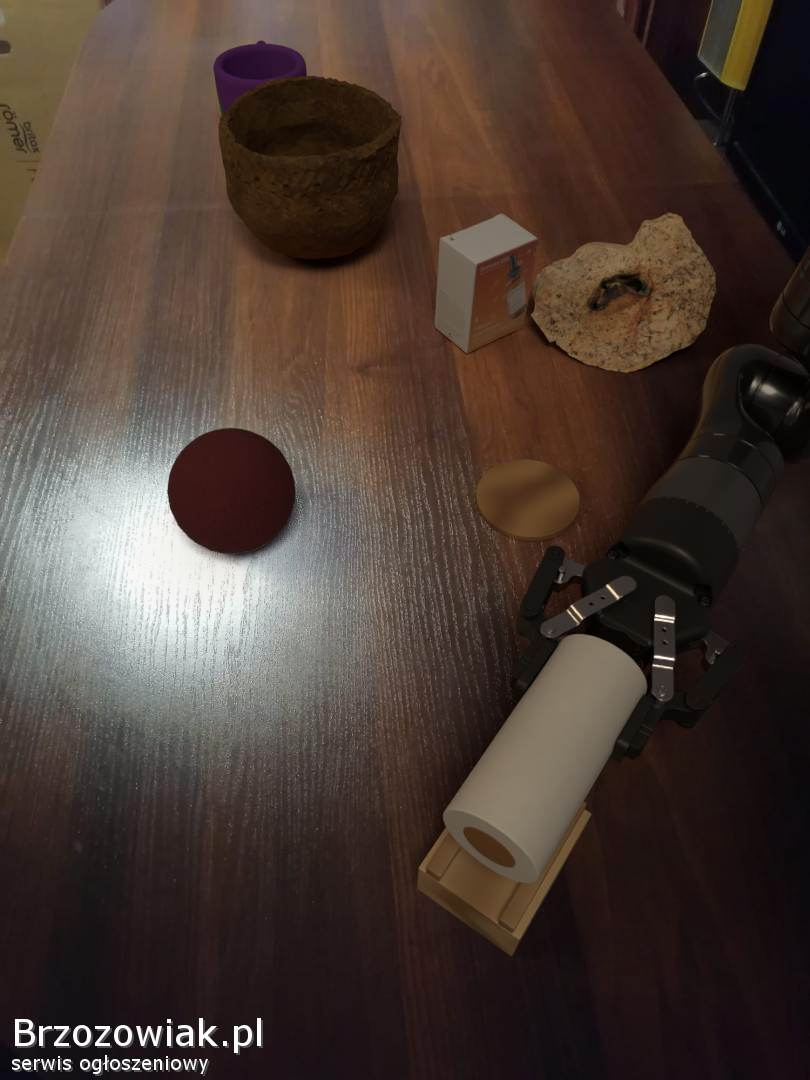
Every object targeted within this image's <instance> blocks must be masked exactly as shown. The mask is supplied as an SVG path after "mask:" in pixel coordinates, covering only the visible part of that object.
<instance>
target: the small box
mask: <svg viewBox="0 0 810 1080" xmlns="http://www.w3.org/2000/svg"><path fill="white" fill-rule="evenodd" d="M538 241H539V239H538V237H537V236H535V235H534V234H532V232H530V231H528V230H527V229H526V228H524V227H523V226H521V225H519V224H518V223H517V222H516V221H514V220H513V219H511V218H510V217H508V216H507V215H505V214H504V213H499V214H497V215H495V216H493V217H490V218H489V219H486V220H483V221H481V222H479V223H476V224H474V225H471V226H469V227H466V228H464V229H461V230H459V231H456V232H453V233H451V234H448V235H444V236H441V237H439V245H438V263H437V276H436V278H437V281H436V293H435V294H436V296H435V310H434V311H435V312H434V328H435V329H437V331H439V332H440V333H441V334H442V335H444V337H446V338H447V339H448V340H449V341H450V342H452V343H453V344H454V345H455V346H457V347H458V348H459V349H460V350H462V351H463V352H464V353H465V354H470V353H472V352H473V351H476V350H478V349H480V348H482V347H484V346H486V345H488V344H490V343H493V342H494V341H497V340H499V339H501V338H503V337H505V336H508V335H510V334H512V333H514V332H517V331H519V330H521V329H523V328H524V327H525V323H526V317H527V311H528V304H529V298H530V292H531V286H532V280H533V274H534V267H535V260H536V254H537V250H538V249H537V248H538V244H539V243H538Z"/></svg>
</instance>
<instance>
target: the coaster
mask: <svg viewBox="0 0 810 1080" xmlns="http://www.w3.org/2000/svg"><path fill="white" fill-rule="evenodd" d="M475 504H476V509H477V511H478V513H479V515H480V517H481V519H483V521H484V522H485V523H486V524H487V525H488V526H489V527H490V528H491V529H493V530H494V531H496V532H497V533H499V534H501V535H503V536H505V537H508V538H511V539H514V540H518V541H525V542H540V541H541V542H542V541H547V540H550V539H554V538H557V537H558V536H560V535H562V534H564V533H565V532H567V531H568V530H569V529H570V528H571V527H572V526H573V525H574V523H575V521H576V520H577V518H578V514H579V511H580V507H581V497H580V493H579V491H578V488H577V486H576V485H575V483H574V482H573V480H572V479H571V478H570V477H569V476H568V475H567V474H566V473H565V472H563V471H562V470H561V469H559V468H557V467H555V466H554V465H552V464H549V463H547V462H545V461H544V462H543V461H541V460H540V461H539V460H535V459H528V458H527V459H526V458H525V459H524V458H519V459H511V460H506V461H502V462H500V463H498V464H496V465H494V466H491V468H489V469H488V470H486V472H485V473H484V474H483V475H482V476H481V477H480V479H479V481H478V483H477V485H476V490H475Z"/></svg>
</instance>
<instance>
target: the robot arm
mask: <svg viewBox="0 0 810 1080" xmlns="http://www.w3.org/2000/svg"><path fill="white" fill-rule="evenodd" d="M768 324H769V330H770V333H771V336H772V337H773V339H774V341H775V342H776V343H777V345H778V346H779V347H780V348H781V349H782V350H783V351H784V352H785V353H786V354H787V355H788V356H789V357H790V358H789V357H787V356H785V355H783V354H780V353H779V352H777V351H775V350H773V349H772V348H770V347H767V346H765V345H763V344H759V343H756V342H744V343H738V344H735V345H734V346H731V347H729V348H728V349H726V350H724V351H723V352H722V353H720V354H719V355H718V357H717V358H715V360H713V363H712V364H711V365H710V367H709V369H708V370H707V373H706V375H705V377H704V379H703V382H702V385H701V389H700V392H699V396H698V401H697V406H696V412H695V419H694V423H693V427H692V431H691V433H690V435H689V438H688V439H687V440H686V442H685V444H684V445H683V447H682V448H681V450H680V452H679V453H678V454H677V456H676V457H675V458H674V460H673V461H672V463H671V464H670V466H669V468H668V469H667V470H666V471H665V472H664V473H663V474H662V475H661V476H660V477H659V478H658V479H657V480H656V481H655V482H654V484H652V485H651V487H650V488H649V489H648V491H647V492H646V494H645V495H644V497H643V498H642V500H641V501H640V502H639V504H638V505H637V507H635V509H634V511H633V512H632V514H631V515H630V516H629V518H628V520H627V521H626V522H625V524H624V525H623V527H622V528H621V530H620V531H619V533H618V534H617V535H616V537H615V539H614V540H613V541H612V542H611V544H610V545H609V547H608V548H607V550H606V551H605V552H604V553H603V555H602V556H601V557H600V558H598V559H596V560H594V561H592V562H589V563H588V564H586V565H584V564H582V563H579V562H576V561H574V560H572V559H568V558H566V557H565V556H566V551H565V549H564V548H563V547H561V546H559V545H550V546H549V547H547V549H546V550H545V552H544V555H543V557H542V559H541V561H540V563H539V566H538V567H537V570H536V572H535V574H534V575H533V578H532V580H531V582H530V584H529V586H528V588H527V590H526V592H525V594H524V597H523V599H522V601H521V602H520V606H519V609H518V614H517V620H516V624H515V632H516V633H517V634H518V635H519V636H521V637H523V638H526V639H527V641H529V645H528V646H527V647H526V649H525V650H524V651H523V652H522V654H521V655H520V657H519V659H518V660H517V661H516V663H515V664H514V665H513V667H512V671H511V676H510V680H509V686H508V687H509V688H510V689H512V693H511V700H512V701H514V702H515V703H517V704H518V703H519V701H520V700H521V698H522V697H523V696H524V694H525V693H526V691H527V690H528V688H529V687H530V685H531V684H532V682H533V681H534V679H535V678H536V677H537V675H538V674H539V672H540V671H541V669H542V668H543V666H544V665H545V663H546V662H547V660H548V659H549V658H550V656H551V655H552V653H553V652H554V650H555V649H556V647H557V646H558V644H559V643H560V642H561V640H562V639H564V638H565V637H567V636H570V635H574V634H585V635H590V636H594V637H597V638H600V639H603V640H605V641H607V642H609V643H611V644H613V645H614V646H616V647H618V648H619V649H621V650H622V651H623V652H625V653H626V654H627V655H628V656H629V657H630V658H631V659H633V661H634V662H635V663H636V664H637V665H638V664H640V669H641V671H642V672H643V674H644V676H645V679H646V682H647V692H646V695H645V694H644V695H643V697H642V699H641V700H640V702H639V704H638V705H637V707H636V709H635V711H634V712H633V714H632V716H631V717H630V719H629V721H628V723H627V724H626V726H625V728H624V729H623V731H622V733H621V735H620V736H619V738H618V740H617V742H616V743H615V745H614V747H613V751H612V753H611V755H610V757H609V758H608V759H611V760H612V761H614V763H615V762H616V763H617V764H618V765H621V763H622V761H623V759H624V758H625V757H626V758H627V759H629V760H631V761H634V760H636V759H637V758H638V757H640V756H641V754H642V752H643V750H644V749H645V747H646V745H647V743H648V742H649V740H650V738H651V737H652V734H653V733H654V731H655V729H656V727H657V725H658V724H659V723H661V722H662V721H672V722H676V724H677V725H678V726H679V727H680V728H682V729H686V730H687V729H692V728H694V727H695V725H697V723H698V722H699V721H700V720H701V718H702V717H703V716H704V715H705V713H707V712H708V710H709V709H710V707H711V706H713V704H714V702H715V701H716V700H717V699H718V698H719V696H720V695H721V694H722V692H724V690H725V689H726V688H727V687H728V685H729V684H730V683H731V682H732V680H733V679H735V677H736V676H737V674H738V673H739V671H740V669H741V668H742V667H743V665H744V663H745V661H746V660H747V658H748V656H749V655H750V653H751V648H750V646H749V645H748V644H747V643H746V642H745V641H743V640H742V639H741V640H740V639H733V640H731V642H729V641H727V640H725V638H724V637H721V636H720V635H719V634H716V633H715V632H714V631H712V630H711V621H710V614H711V613H712V611H713V609H714V607H715V606H716V604H717V602H718V600H719V598H720V597H721V595H722V593H723V591H724V590H725V588H726V586H727V585H728V582H729V581H730V579H731V577H732V575H733V573H734V572H735V570H736V569H737V568H738V567H739V565H740V564H741V563H742V562H743V561H742V559H743V556H744V554H745V552H746V551H747V549H748V547H749V546H750V543H751V541H752V539H753V537H754V534H755V531H756V527H757V524H758V522H759V520H760V518H761V516H762V515H763V513H764V511H765V510H766V508H767V506H768V504H769V502H770V501H771V499H772V497H773V496H774V494H775V492H776V490H777V489H778V487H779V485H780V483H781V480H782V478H783V475H784V471H785V465H800V464H804V463H808V462H810V244H809V245H808V247H807V248H806V250H805V251H804V254H803V255H802V257H801V259H800V260H799V262H798V263H797V265H796V267H795V269H794V271H793V272H792V274H791V275H790V277H789V279H788V281H787V282H786V284H785V286H784V287H783V289H782V291H781V293H780V295H779V296H778V298H777V300H776V301H775V303H774V305H773V307H772V309H771V313H770V315H769V323H768ZM574 584H575V585H576V584H577V585H579V592H580V596H581V598H580V599H578V600H576V601H574V602H573V603H572V604H570V605H569V606H568V607H567V608H566V610H565V611H563V612H560V613H559V614H557V615H555V616H553V617H551V618H550V619H548V618H547V617H546V616H545V615H544V612H545V609H546V607H547V605H548V603H549V601H550V598H551V597H552V594H553V593H555V594H559V593H561V592H563V591H565V590H566V589H567V588H568V587H569V586H570V585H574ZM698 648H699V650H701V652H702V653H703V655H702V659H701V661H700V664H701V668H702V669H703V672H704V673H703V674H702V675H701V676H700V678H699V679H698V680H697V681H696V683H694V685H693V687H691V688H690V690H689V691H688V692H685V691H681V690H676V689H675V683H674V681H675V680H674V679H675V677H674V668H675V664H676V663H675V662H676V656H677V655H679V654H680V655H681V654H684V653H686V652H689V651H692V650H695V649H698Z"/></svg>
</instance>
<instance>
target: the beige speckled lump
mask: <svg viewBox="0 0 810 1080" xmlns="http://www.w3.org/2000/svg"><path fill="white" fill-rule="evenodd" d="M716 275H717V274H716V271H715V268H713V265H712V264H711V263H710V261H709V260H708V258H707V256H706V254H705V252H704V251H703V249H702V247H701V246H700V245H698V244H697V243H696V240H695V239H694V238H693V236H692V232H691V230H690V229H688V227H687V225H686V224H685V222H684V220H683V217H682V216H681V215H678V214H676V213H672V212H667V213H665V214H663V215H661V216H660V217H657V218H654V219H645V220H644V221H643V222H642V223H641V225H640V227H639V229H638V231H637V232H636V234H635V235H634V239H633V240H632V241H631V242H629V243H628V244H627V243H626V244H619V243H610V242H604V241H592V242H587V243H585V244H583V245H581V246H580V247H578V248H577V249H575V252H574V253H573V254H571V255H570V256H569V257H566V258H562V259H559V260H557V261H552V264H546V265H544V266H543V267H541V273H538V274H537V276H536V278H535V280H534V281H533V285H532V286H533V290H532V292H531V293H532V297H533V302H534V309H533V312H532V313H531V314H530V317H531V318H532V319H533V321H534V322H535V324H536V325H537V326H538V328H539V329H540V330H541V332H542V333H543V334H544V336H545V337H546V339H547V340H548V342H549V343H552V342H555V344H556V345H557V346H558V347H559V348H560V349H561V350H563V351H565V352H567V355H568V356H570V357H571V358H575V359H576V360H577V361H579V362H582V363H583V364H584V365H588V366H592V367H598V368H601V369H602V370H603V369H604V370H605V371H613V372H620V373H626V374H628V373H631V372H635V371H638V370H642V369H645V368H647V367H649V366H651V365H652V364H654V363H656V362H659V361H660V360H663V359H664V358H667V357H668V356H670V355H671V354H672V353H674V352H676V351H679V350H682V349H685V348H688V347H689V346H691V345H694V344H695V342H696V339H698V337H699V336H700V334H701V333H702V332H703V331H704V330H705V329H706V326H707V321H708V320H709V314H710V311H711V308H712V305H711V304H712V303H713V300H714V298H715V294H717V287H716V284H717V280H716V279H717V277H716Z"/></svg>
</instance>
